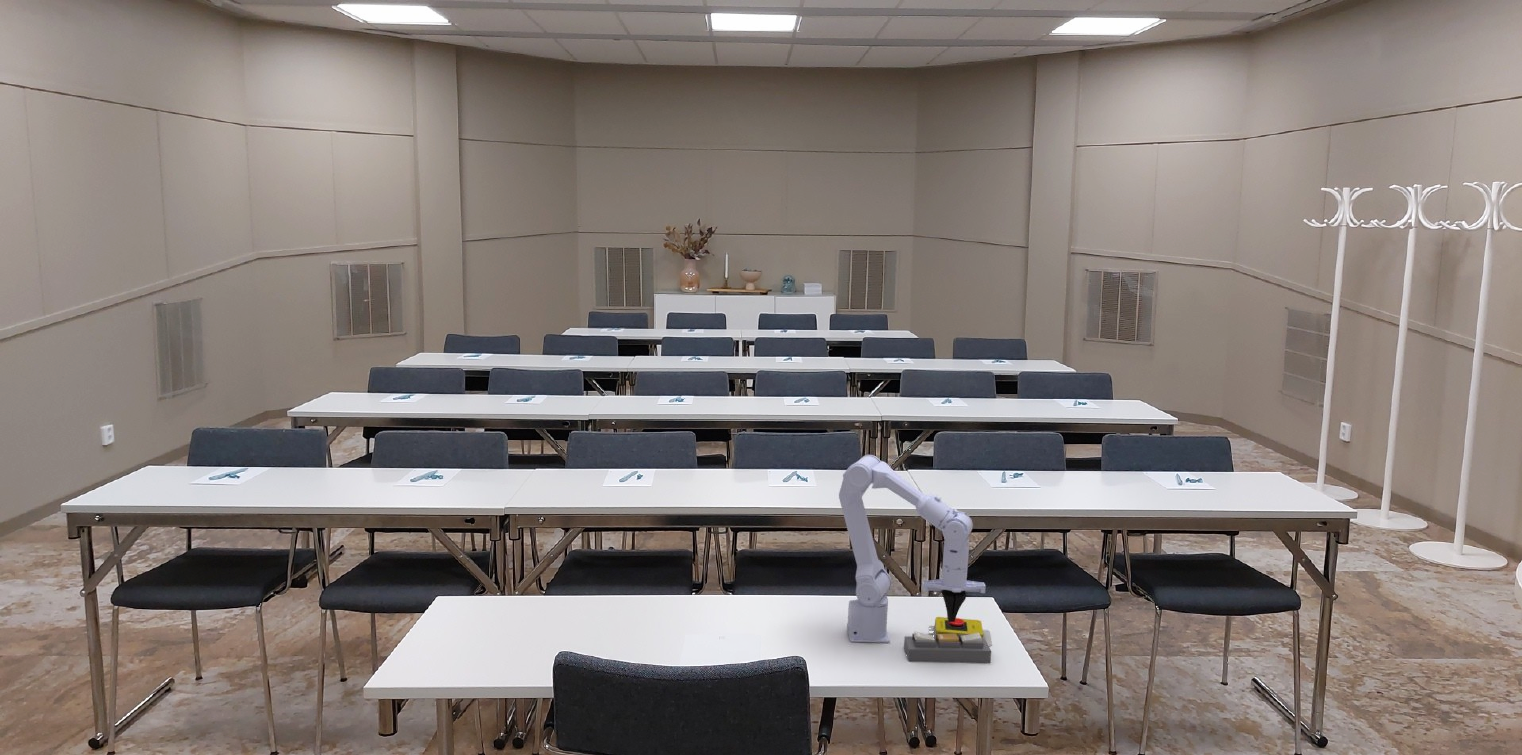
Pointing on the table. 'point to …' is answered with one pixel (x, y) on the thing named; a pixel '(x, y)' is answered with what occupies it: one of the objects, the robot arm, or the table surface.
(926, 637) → the rocker left
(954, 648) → the switch strip
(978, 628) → the emergency button
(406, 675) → the table surface
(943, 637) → the rocker amber
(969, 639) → the rocker right
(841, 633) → the table surface
